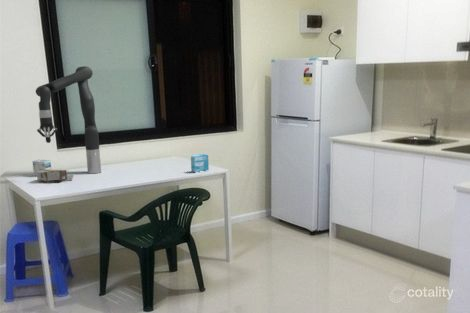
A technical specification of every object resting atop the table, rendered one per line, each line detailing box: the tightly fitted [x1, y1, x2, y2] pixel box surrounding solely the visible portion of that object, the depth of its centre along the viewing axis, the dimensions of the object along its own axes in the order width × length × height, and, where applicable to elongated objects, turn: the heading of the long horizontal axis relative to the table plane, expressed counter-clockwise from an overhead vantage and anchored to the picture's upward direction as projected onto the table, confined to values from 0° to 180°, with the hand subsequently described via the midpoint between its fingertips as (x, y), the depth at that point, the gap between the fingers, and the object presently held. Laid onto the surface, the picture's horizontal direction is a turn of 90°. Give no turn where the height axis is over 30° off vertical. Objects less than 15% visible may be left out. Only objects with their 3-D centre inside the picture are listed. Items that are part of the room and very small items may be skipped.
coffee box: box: [36, 169, 68, 183], centre depth 290 cm, size 9×6×16 cm
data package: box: [190, 153, 210, 173], centre depth 312 cm, size 12×4×12 cm, turn 126°
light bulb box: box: [32, 159, 53, 177], centre depth 309 cm, size 11×7×11 cm, turn 74°
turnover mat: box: [45, 174, 74, 184], centre depth 296 cm, size 16×16×1 cm
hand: (48, 142), depth 290 cm, fingers closed
